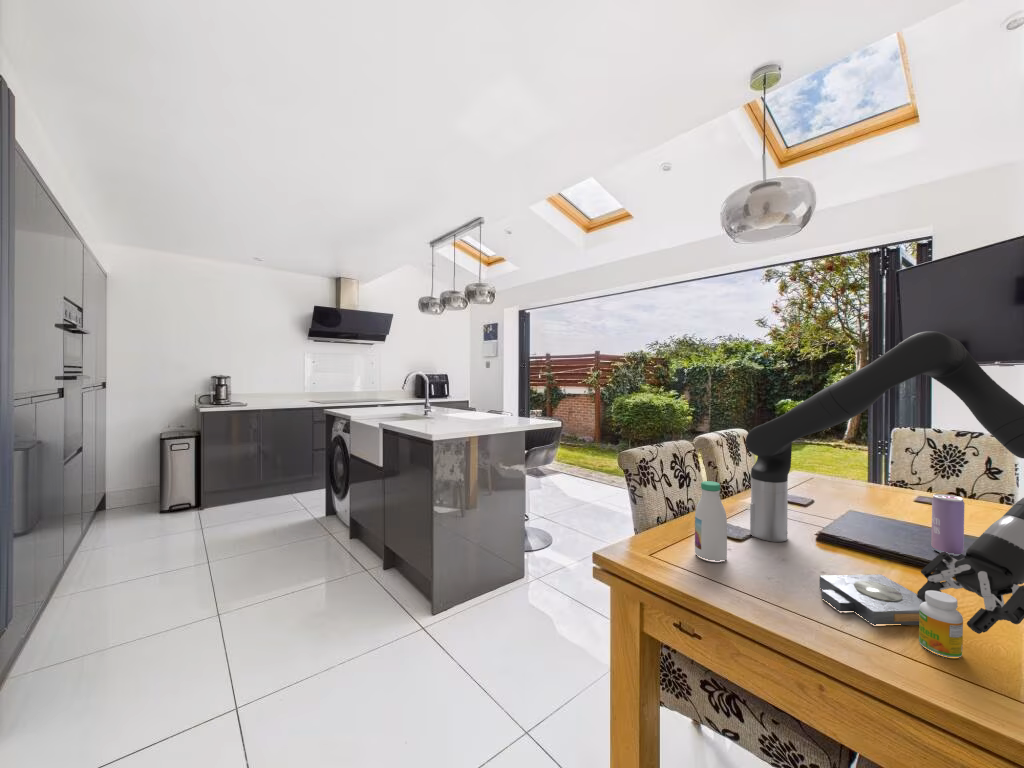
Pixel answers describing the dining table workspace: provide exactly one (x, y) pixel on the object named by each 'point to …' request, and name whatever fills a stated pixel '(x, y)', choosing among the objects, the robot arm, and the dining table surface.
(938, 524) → the beverage can
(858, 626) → the dining table surface
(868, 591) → the grey coaster with tab
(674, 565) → the dining table surface
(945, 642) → the supplement bottle
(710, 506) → the milk bottle
